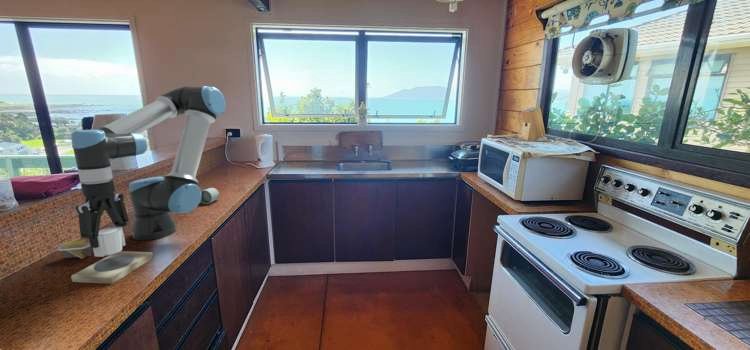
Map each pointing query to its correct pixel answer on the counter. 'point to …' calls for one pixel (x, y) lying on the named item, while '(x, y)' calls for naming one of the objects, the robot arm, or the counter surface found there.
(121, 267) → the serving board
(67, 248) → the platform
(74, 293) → the counter surface
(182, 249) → the counter surface
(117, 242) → the shot glass
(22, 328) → the counter surface
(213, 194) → the ceramic mug
